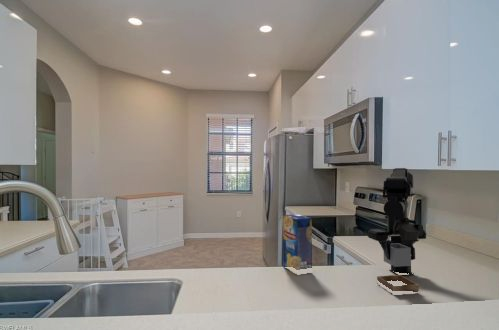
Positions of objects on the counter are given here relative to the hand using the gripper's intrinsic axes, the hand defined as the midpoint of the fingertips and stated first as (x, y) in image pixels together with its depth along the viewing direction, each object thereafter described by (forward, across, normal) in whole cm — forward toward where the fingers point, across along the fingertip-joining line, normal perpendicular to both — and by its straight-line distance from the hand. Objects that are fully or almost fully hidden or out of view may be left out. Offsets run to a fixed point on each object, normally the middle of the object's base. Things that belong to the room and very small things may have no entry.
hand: (396, 258), depth 100 cm
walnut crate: (+10, 0, 0) cm, 10 cm away
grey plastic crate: (+2, 0, 0) cm, 2 cm away
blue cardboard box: (+11, -28, +24) cm, 38 cm away
